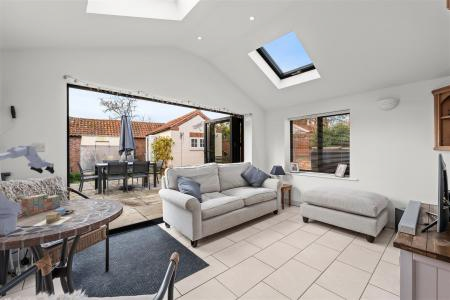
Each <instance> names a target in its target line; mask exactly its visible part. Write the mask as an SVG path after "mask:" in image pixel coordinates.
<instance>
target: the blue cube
mask: <svg viewBox="0 0 450 300" xmlns="http://www.w3.org/2000/svg"><path fill="white" fill-rule="evenodd" d="M66 210H67V209H66V207H63V208H60V207H58V208H55V209H54V210H53V212H61V217H63V215H65V214H66V212H67V211H66Z"/></svg>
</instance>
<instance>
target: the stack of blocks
mask: <svg viewBox="0 0 450 300" xmlns="http://www.w3.org/2000/svg"><path fill="white" fill-rule="evenodd" d="M20 205H21V216H28V217H29V216H32V215H37V214H40V213H43V212H46V211H49V210H53V209H54V210H55V209H58V208H60V207H61V195H55V194H53V195H50V196H49V194H47V193H45V194H44V193H40V194H34V195H31V196H30V195H29V196H25V197H22V198H21V204H20Z"/></svg>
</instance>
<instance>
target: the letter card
mask: <svg viewBox="0 0 450 300" xmlns="http://www.w3.org/2000/svg"><path fill="white" fill-rule="evenodd" d="M71 218H72V216H61V219H60V220H59V221H57V222H51V223H46V219H44V220H41V221H40V222H38V223H35V224H34V225H33V227H42V226H45V227H46V226H55V225H57V226H58V225H61V224H63V223H64V222H66V221H68V220H69V219H71Z"/></svg>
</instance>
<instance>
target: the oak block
mask: <svg viewBox="0 0 450 300" xmlns="http://www.w3.org/2000/svg"><path fill="white" fill-rule="evenodd" d="M61 217H62V216H61V212H54V211H51V212H49V213H46V214H45V220H46V223H51V222H57V221H59V220H60V219H61Z"/></svg>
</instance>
